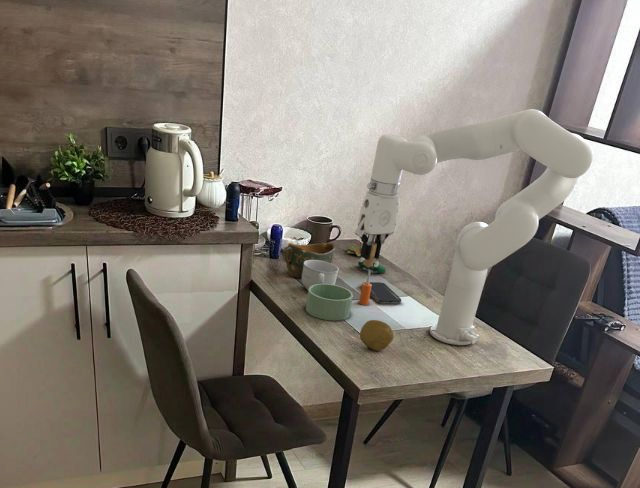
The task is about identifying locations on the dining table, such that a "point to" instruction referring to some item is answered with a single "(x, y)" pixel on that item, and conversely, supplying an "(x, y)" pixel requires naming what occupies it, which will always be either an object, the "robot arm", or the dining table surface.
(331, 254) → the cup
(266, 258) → the dining table surface
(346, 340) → the dining table surface
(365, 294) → the screwdriver
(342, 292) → the crock
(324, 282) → the teacup
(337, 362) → the dining table surface
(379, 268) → the green toy figure
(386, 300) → the phone
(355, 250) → the lily flower
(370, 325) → the potato
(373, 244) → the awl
